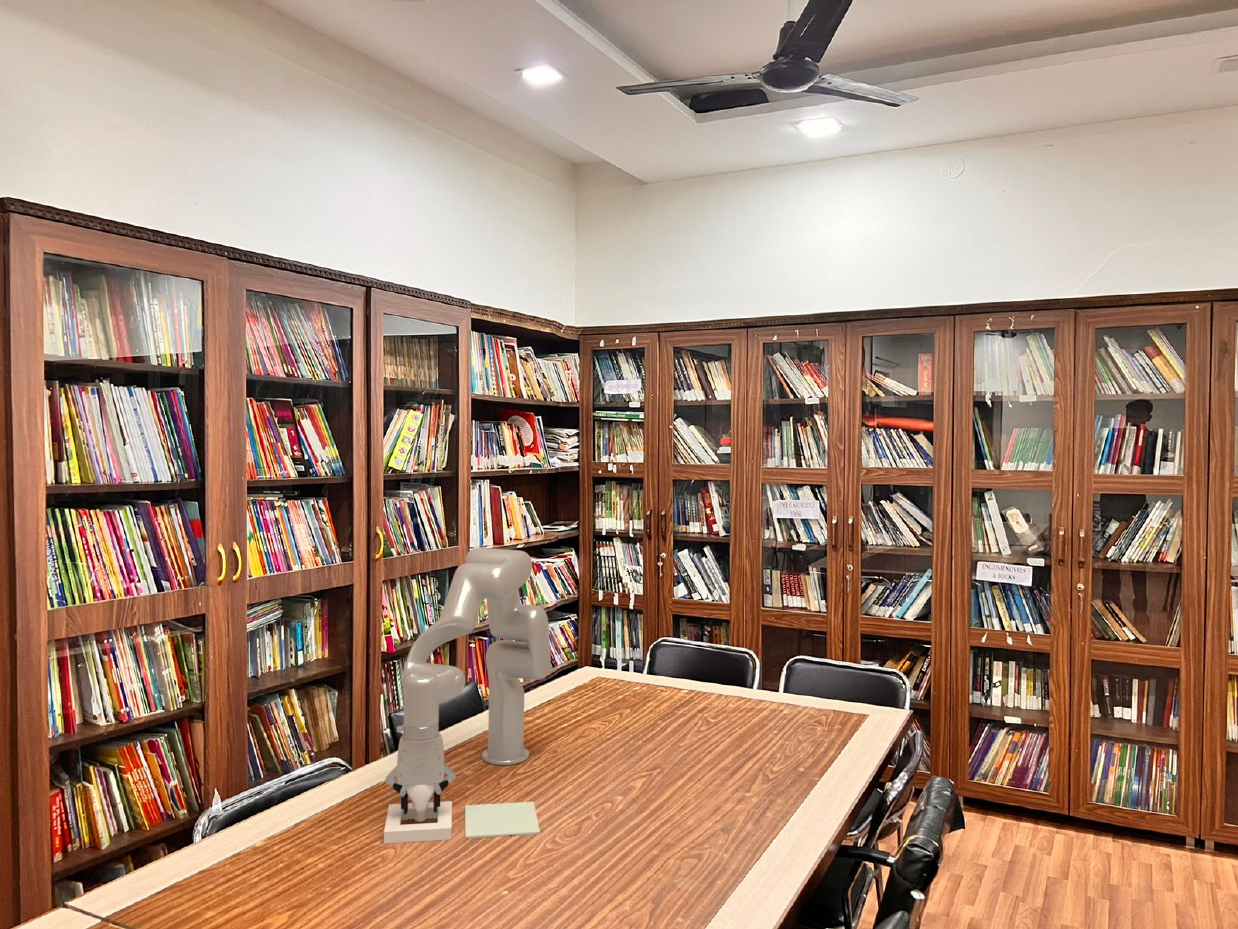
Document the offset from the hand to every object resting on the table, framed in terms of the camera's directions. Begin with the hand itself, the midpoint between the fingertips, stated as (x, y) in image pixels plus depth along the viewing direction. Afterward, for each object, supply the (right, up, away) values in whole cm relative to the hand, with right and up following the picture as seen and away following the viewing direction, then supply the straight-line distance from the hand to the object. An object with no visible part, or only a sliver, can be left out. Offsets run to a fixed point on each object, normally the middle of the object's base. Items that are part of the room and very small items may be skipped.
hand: (420, 810), depth 191 cm
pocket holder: (0, -4, 0) cm, 4 cm away
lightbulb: (0, -3, 0) cm, 3 cm away
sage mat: (+17, -4, +4) cm, 18 cm away
